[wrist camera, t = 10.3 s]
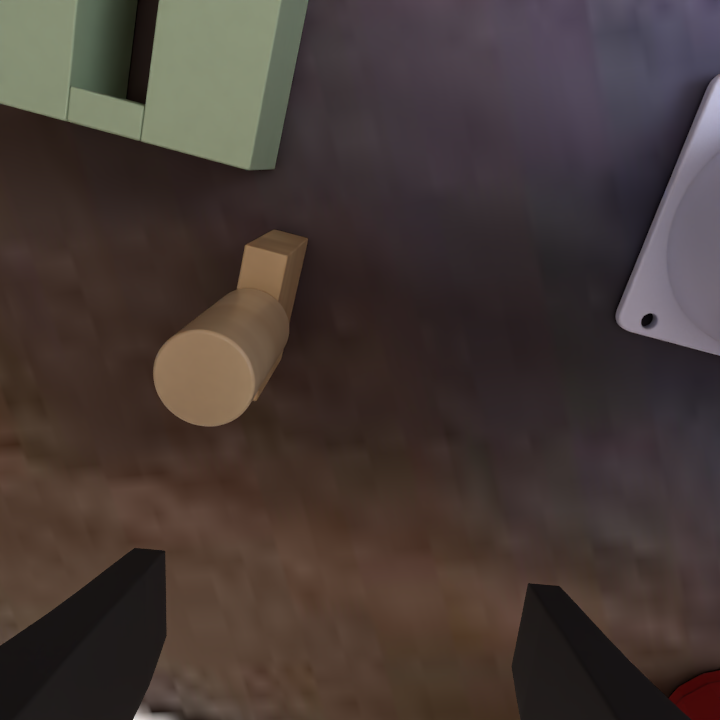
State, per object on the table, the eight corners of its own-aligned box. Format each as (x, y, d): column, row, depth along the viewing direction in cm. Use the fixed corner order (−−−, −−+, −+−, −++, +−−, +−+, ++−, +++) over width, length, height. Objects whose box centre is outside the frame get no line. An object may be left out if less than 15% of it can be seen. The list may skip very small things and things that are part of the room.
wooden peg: (323, 242, 20) (274, 294, 12) (294, 363, 21) (234, 482, 13) (258, 224, 20) (167, 265, 12) (234, 347, 21) (138, 457, 13)
